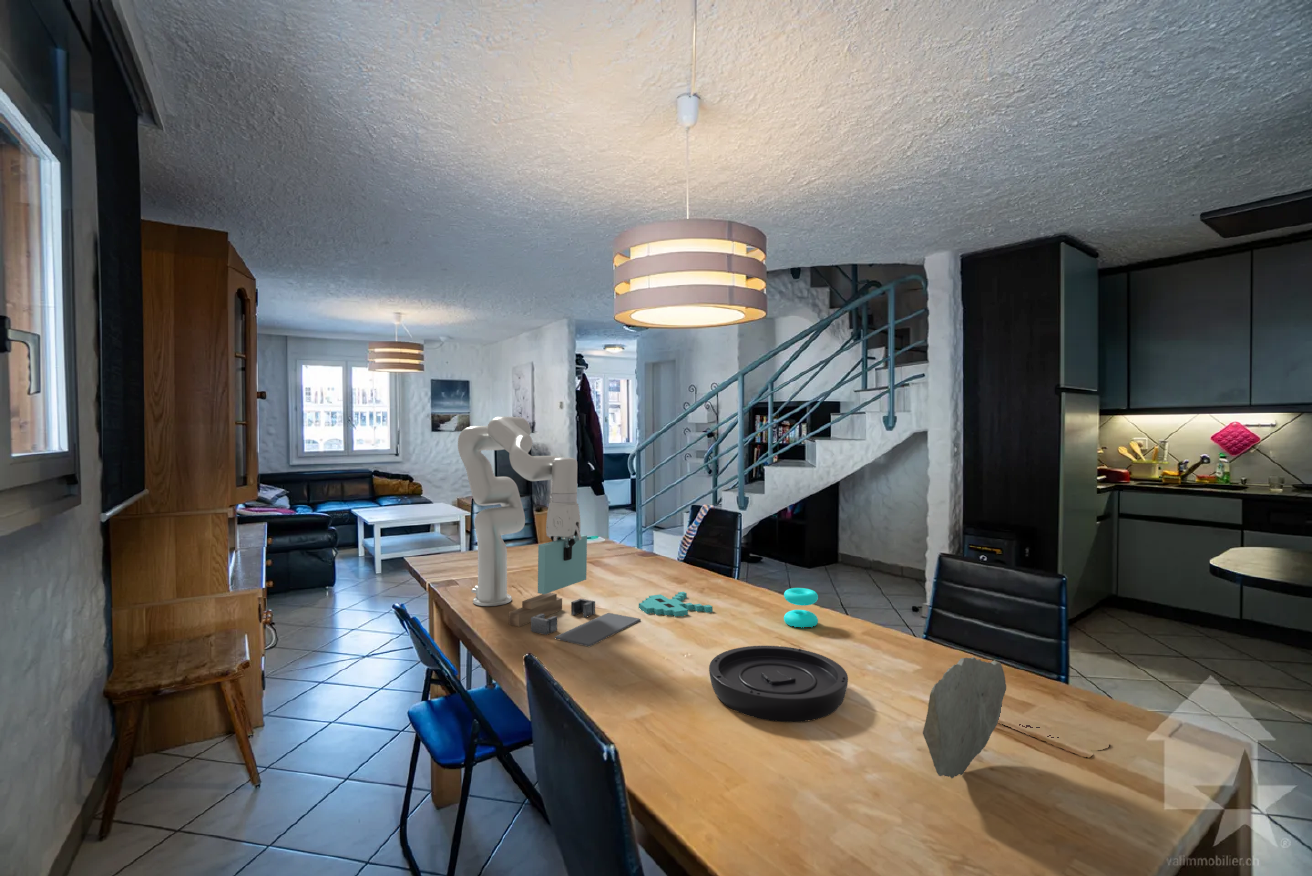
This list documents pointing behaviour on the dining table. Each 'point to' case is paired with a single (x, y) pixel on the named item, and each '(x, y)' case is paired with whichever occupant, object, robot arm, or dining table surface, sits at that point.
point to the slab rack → (550, 624)
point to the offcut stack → (535, 608)
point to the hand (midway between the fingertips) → (563, 558)
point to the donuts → (801, 598)
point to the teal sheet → (561, 565)
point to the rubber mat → (597, 629)
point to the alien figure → (671, 605)
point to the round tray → (778, 683)
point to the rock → (963, 713)
